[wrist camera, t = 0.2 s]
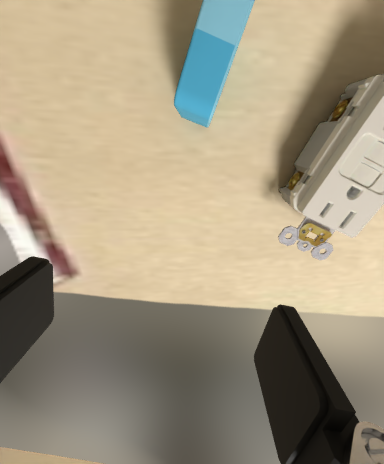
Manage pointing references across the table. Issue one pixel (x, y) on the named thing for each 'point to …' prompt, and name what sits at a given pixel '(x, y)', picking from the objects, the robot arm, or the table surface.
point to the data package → (210, 57)
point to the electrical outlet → (340, 170)
